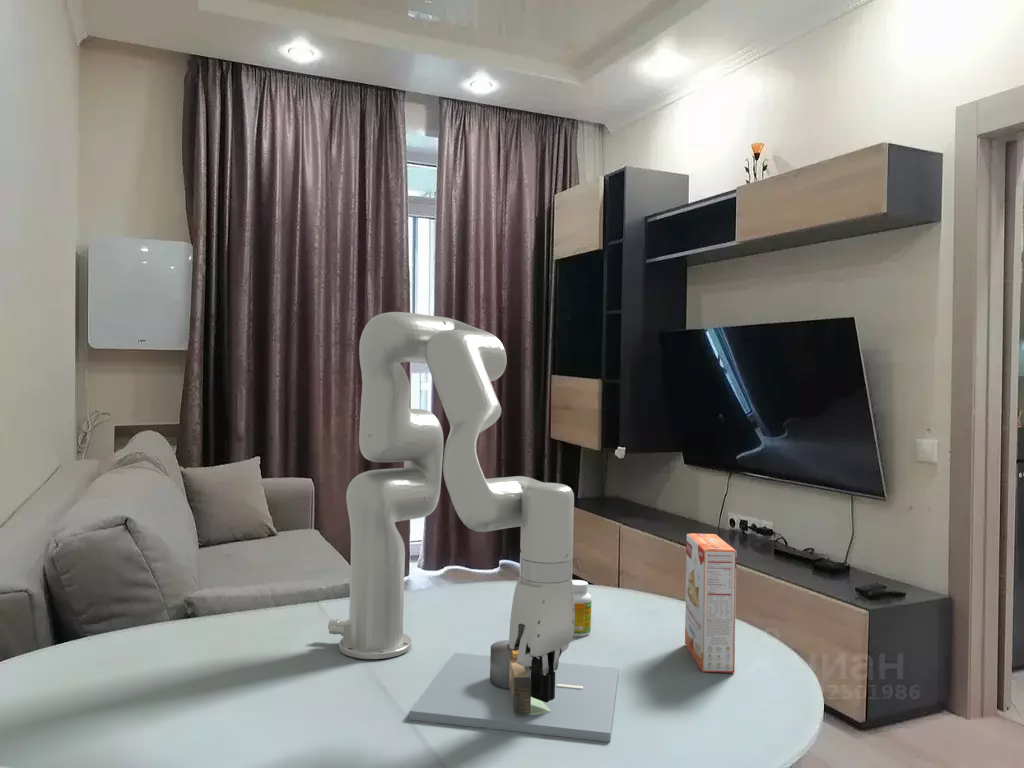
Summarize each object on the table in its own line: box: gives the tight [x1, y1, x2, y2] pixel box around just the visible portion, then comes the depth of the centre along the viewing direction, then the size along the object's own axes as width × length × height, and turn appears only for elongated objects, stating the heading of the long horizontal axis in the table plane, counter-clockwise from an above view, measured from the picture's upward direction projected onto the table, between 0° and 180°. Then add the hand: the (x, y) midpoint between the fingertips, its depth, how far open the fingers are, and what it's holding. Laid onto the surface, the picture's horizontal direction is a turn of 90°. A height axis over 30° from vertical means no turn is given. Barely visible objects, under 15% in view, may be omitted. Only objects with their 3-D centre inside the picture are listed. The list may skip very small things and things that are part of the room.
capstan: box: [489, 639, 531, 713], centre depth 113 cm, size 16×7×6 cm, turn 6°
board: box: [409, 652, 620, 743], centre depth 115 cm, size 28×24×1 cm
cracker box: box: [684, 532, 738, 674], centre depth 134 cm, size 14×6×21 cm, turn 179°
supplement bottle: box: [572, 579, 592, 638], centre depth 146 cm, size 5×5×10 cm
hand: (542, 698), depth 108 cm, fingers closed
